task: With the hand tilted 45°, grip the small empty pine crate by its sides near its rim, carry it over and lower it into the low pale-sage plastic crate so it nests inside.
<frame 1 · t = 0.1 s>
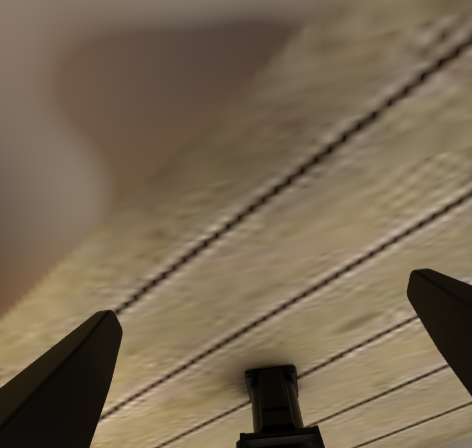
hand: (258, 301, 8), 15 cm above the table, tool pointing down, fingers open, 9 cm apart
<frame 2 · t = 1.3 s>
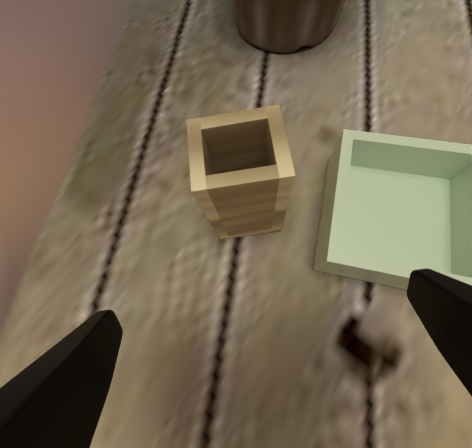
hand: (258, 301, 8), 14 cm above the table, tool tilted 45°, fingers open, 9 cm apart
sage crate: (384, 222, 21), on the table
pine crate: (246, 211, 23), on the table
plant pot: (287, 20, 30), on the table
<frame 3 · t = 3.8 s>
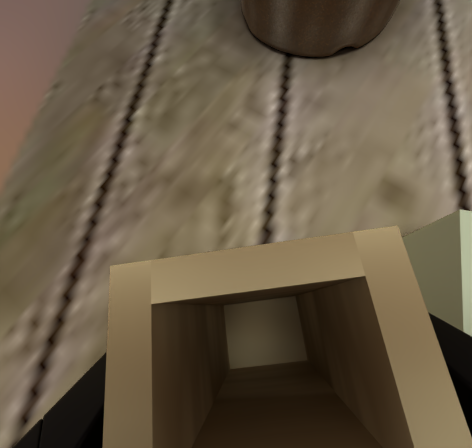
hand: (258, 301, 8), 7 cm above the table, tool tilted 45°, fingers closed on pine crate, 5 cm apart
pine crate: (263, 330, 13), on the table, touching gripper
plant pot: (317, 8, 21), on the table
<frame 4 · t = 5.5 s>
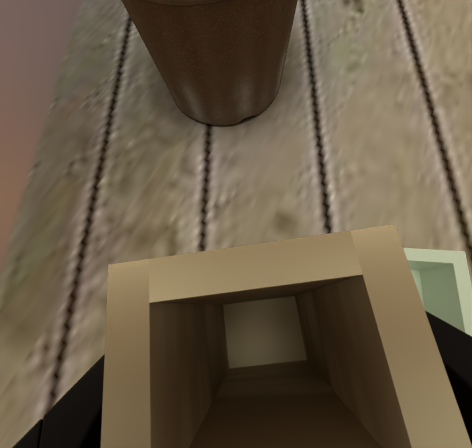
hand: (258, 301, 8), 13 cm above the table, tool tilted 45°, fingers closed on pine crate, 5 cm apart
sage crate: (356, 326, 19), on the table
pine crate: (262, 329, 13), point 7 cm above the table, touching gripper
plant pot: (228, 84, 28), on the table
when the fingers open (9 cm above the table, at t = 7.5 s): pine crate drops 1 cm, resting on sage crate.
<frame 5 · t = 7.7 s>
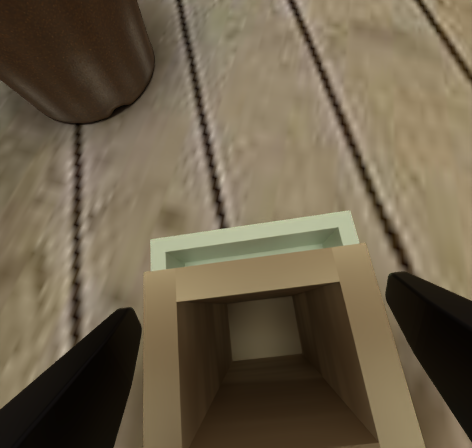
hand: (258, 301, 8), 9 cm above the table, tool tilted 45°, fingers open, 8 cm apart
sage crate: (263, 326, 16), on the table
pine crate: (263, 326, 15), point 1 cm above the table, touching sage crate
plant pot: (98, 75, 24), on the table
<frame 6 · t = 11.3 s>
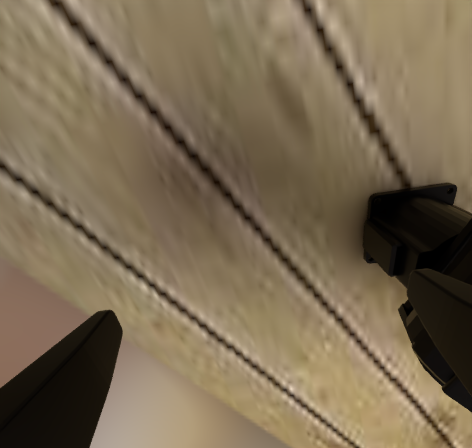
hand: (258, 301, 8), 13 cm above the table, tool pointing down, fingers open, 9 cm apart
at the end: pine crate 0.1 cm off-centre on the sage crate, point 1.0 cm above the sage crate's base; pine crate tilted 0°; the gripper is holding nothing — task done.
